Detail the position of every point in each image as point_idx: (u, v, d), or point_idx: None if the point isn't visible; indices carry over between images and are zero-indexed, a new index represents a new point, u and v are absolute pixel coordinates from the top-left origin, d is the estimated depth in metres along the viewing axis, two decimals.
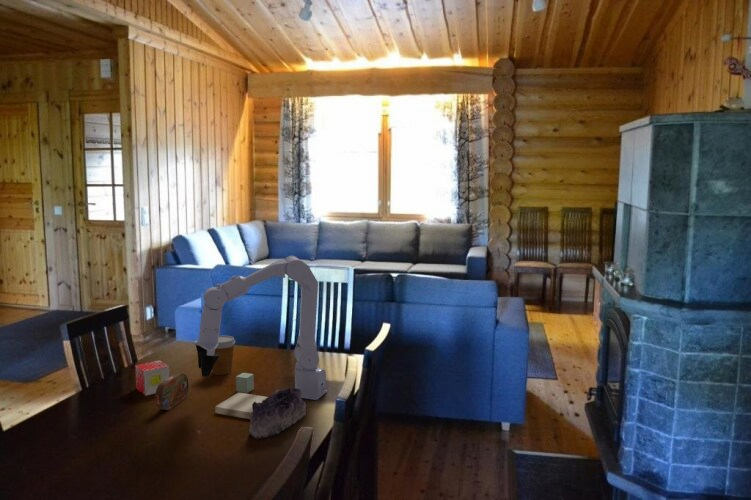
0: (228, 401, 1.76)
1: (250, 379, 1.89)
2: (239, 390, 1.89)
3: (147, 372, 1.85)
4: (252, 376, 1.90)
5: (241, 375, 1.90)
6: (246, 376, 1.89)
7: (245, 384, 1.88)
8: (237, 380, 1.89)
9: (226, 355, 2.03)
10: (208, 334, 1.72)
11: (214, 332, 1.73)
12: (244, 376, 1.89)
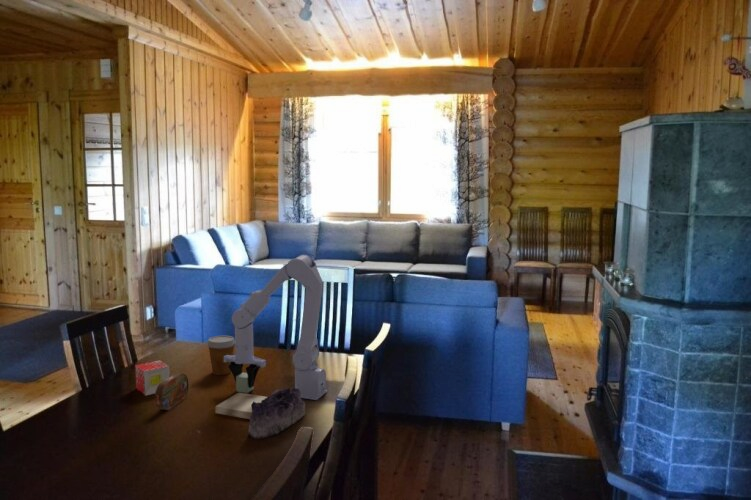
0: (228, 401, 1.76)
1: None
2: (239, 390, 1.89)
3: (147, 372, 1.85)
4: None
5: (241, 375, 1.90)
6: (246, 376, 1.89)
7: (245, 384, 1.88)
8: (237, 380, 1.89)
9: None
10: (250, 350, 1.87)
11: None
12: (244, 376, 1.89)
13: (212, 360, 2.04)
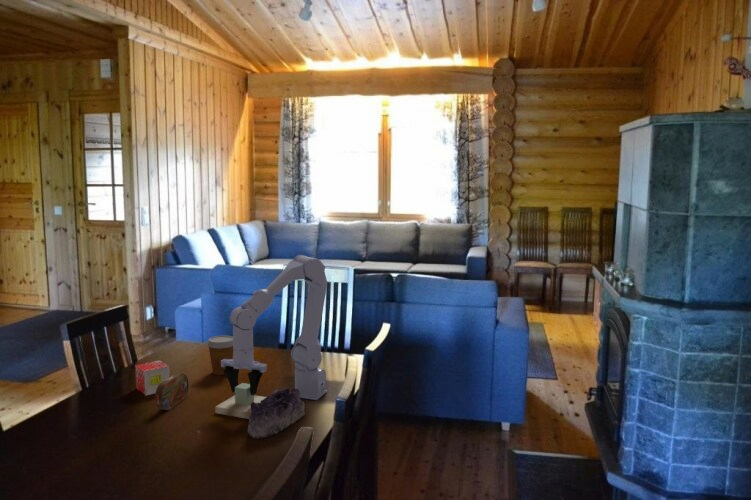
0: (228, 401, 1.76)
1: None
2: (238, 402, 1.74)
3: (147, 372, 1.85)
4: None
5: (240, 386, 1.75)
6: (246, 387, 1.74)
7: (244, 395, 1.73)
8: (236, 391, 1.74)
9: (226, 355, 2.03)
10: (250, 354, 1.72)
11: (252, 350, 1.73)
12: (243, 387, 1.74)
13: (212, 360, 2.04)
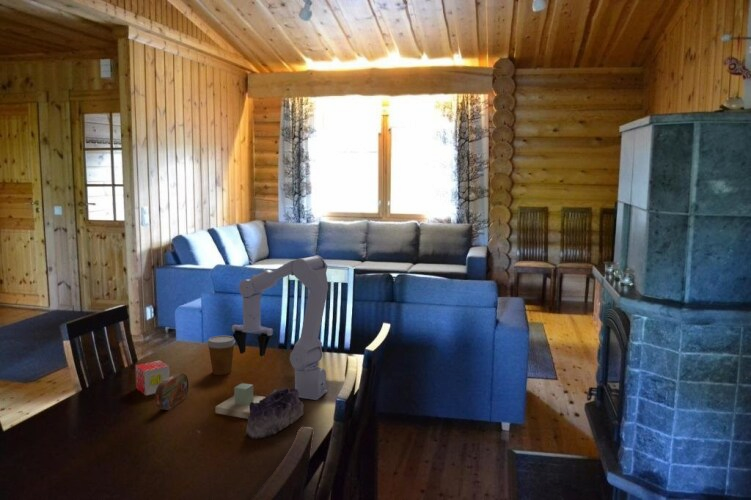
0: (228, 401, 1.76)
1: (250, 390, 1.74)
2: (238, 402, 1.74)
3: (147, 372, 1.85)
4: (252, 387, 1.75)
5: (240, 386, 1.75)
6: (245, 387, 1.74)
7: (244, 396, 1.73)
8: (235, 391, 1.73)
9: (226, 355, 2.03)
10: (257, 319, 1.94)
11: (260, 316, 1.96)
12: (243, 387, 1.74)
13: (212, 360, 2.04)
